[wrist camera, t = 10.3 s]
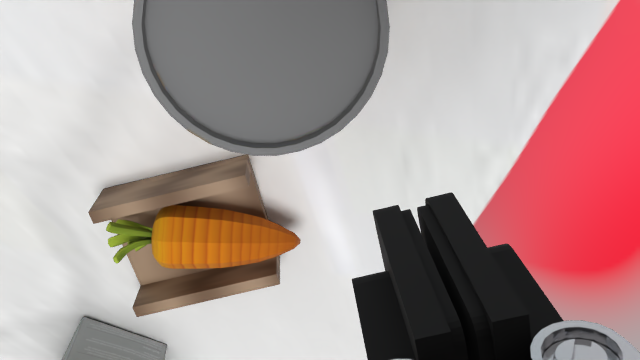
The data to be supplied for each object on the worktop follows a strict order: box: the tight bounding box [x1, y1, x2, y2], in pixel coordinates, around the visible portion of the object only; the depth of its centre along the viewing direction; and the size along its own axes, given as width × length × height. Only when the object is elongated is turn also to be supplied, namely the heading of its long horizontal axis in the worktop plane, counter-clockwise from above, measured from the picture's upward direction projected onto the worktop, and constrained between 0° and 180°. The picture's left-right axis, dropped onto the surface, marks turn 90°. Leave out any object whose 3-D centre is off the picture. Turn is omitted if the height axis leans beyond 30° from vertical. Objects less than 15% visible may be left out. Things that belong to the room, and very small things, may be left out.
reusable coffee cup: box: [132, 0, 390, 156], centre depth 33 cm, size 13×13×15 cm
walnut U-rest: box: [88, 154, 280, 317], centre depth 46 cm, size 12×10×4 cm
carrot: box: [106, 205, 300, 269], centre depth 44 cm, size 5×5×15 cm
